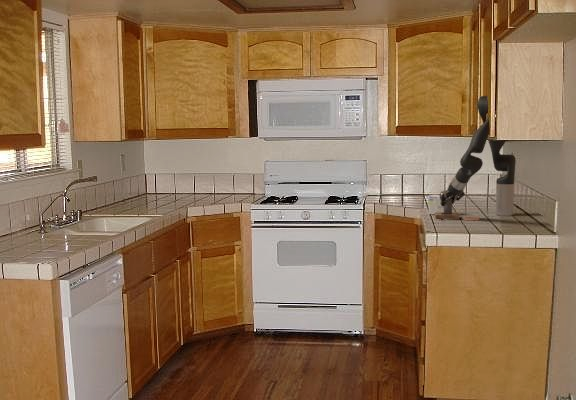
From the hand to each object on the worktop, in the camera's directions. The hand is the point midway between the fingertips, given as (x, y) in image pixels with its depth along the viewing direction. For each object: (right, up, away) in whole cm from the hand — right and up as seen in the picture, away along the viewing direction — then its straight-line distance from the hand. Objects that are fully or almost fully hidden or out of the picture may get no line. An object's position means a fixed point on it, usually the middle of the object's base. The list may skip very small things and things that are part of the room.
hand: (445, 204), depth 341 cm
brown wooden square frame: (0, -7, 0) cm, 7 cm away
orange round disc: (+12, -8, -5) cm, 15 cm away
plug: (+1, -6, -1) cm, 6 cm away
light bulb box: (0, -6, +16) cm, 17 cm away
